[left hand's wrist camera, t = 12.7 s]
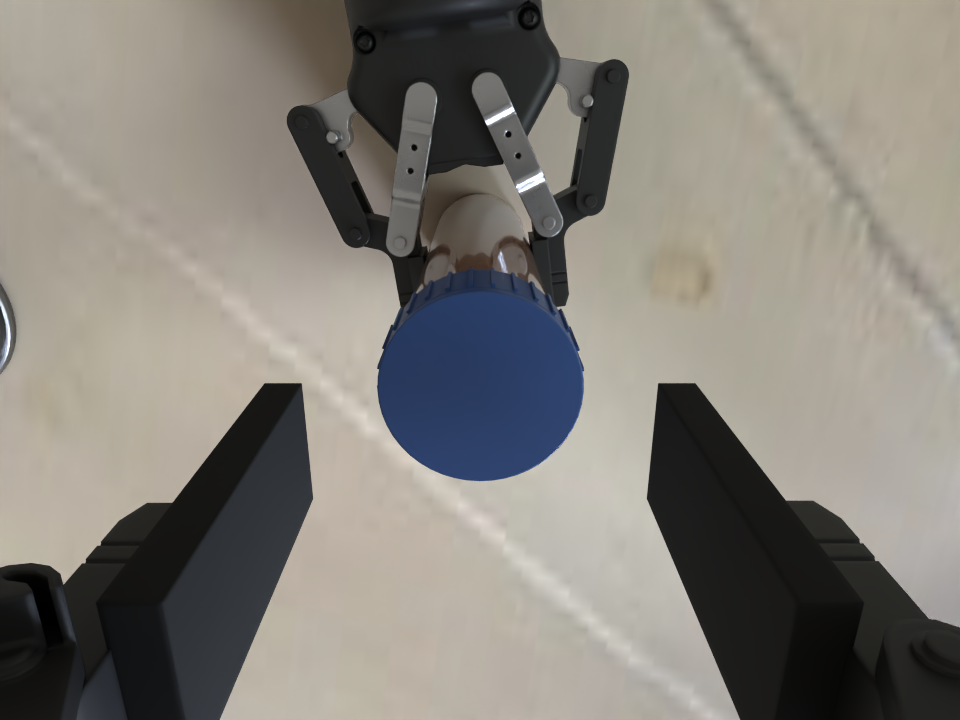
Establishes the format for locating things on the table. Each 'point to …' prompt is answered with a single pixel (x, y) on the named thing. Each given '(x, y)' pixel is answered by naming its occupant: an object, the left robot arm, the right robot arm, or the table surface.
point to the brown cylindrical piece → (480, 241)
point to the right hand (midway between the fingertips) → (487, 322)
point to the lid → (480, 376)
